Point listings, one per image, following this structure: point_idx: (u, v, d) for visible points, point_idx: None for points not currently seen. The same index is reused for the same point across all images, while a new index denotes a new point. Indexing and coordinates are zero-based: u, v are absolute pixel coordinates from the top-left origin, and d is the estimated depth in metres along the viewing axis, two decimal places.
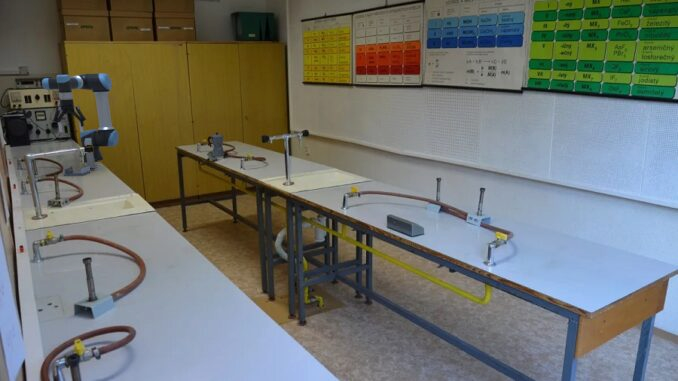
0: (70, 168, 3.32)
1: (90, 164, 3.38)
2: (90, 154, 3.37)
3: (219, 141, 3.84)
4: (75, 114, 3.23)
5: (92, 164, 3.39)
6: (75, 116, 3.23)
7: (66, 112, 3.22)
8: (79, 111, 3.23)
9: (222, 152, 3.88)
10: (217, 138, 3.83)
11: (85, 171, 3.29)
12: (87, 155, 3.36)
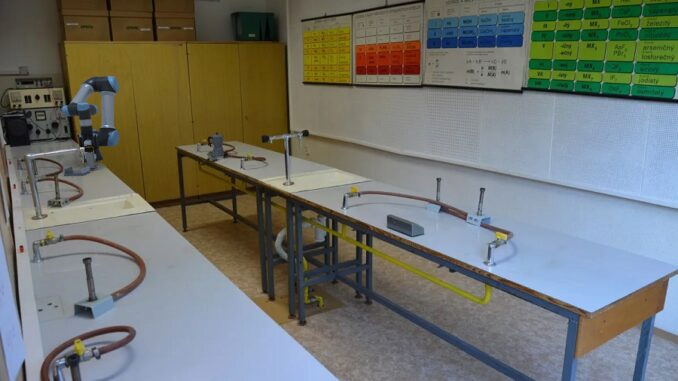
0: (70, 168, 3.32)
1: (90, 164, 3.38)
2: (90, 154, 3.37)
3: (219, 141, 3.84)
4: (92, 141, 3.45)
5: (92, 164, 3.39)
6: None
7: (86, 137, 3.44)
8: (96, 139, 3.45)
9: (222, 152, 3.88)
10: (217, 138, 3.83)
11: (85, 171, 3.29)
12: (87, 155, 3.36)
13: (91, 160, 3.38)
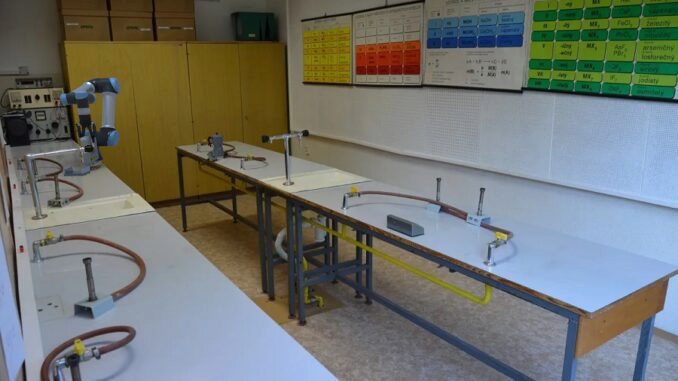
0: (70, 168, 3.32)
1: (86, 160, 3.37)
2: None
3: (219, 141, 3.84)
4: (90, 130, 3.43)
5: (88, 160, 3.37)
6: (89, 131, 3.43)
7: (84, 126, 3.43)
8: (94, 128, 3.43)
9: (222, 152, 3.88)
10: (217, 138, 3.83)
11: (85, 171, 3.29)
12: None
13: (87, 156, 3.36)
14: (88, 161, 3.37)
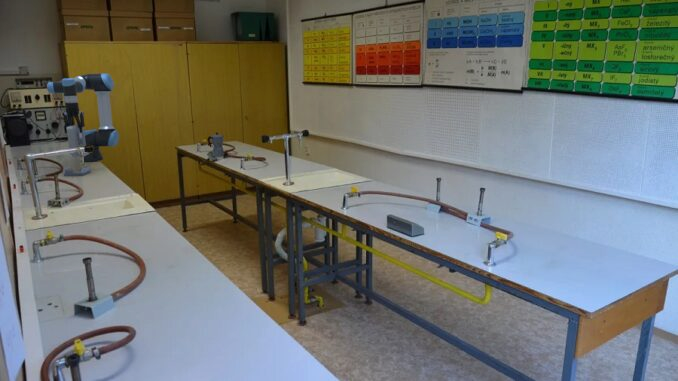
0: (70, 168, 3.32)
1: None
2: (72, 140, 3.18)
3: (219, 141, 3.84)
4: (77, 119, 3.27)
5: None
6: (76, 121, 3.27)
7: (71, 115, 3.26)
8: (82, 117, 3.27)
9: (222, 152, 3.88)
10: (217, 138, 3.83)
11: (85, 171, 3.29)
12: (69, 141, 3.18)
13: (74, 146, 3.19)
14: None
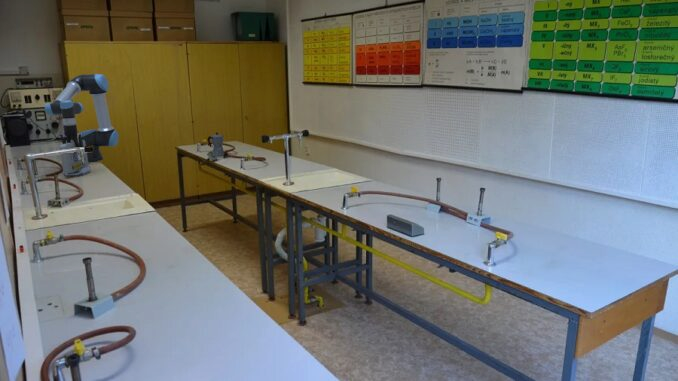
0: None
1: (65, 169, 3.16)
2: (65, 158, 3.14)
3: (219, 141, 3.84)
4: (76, 141, 3.24)
5: (67, 169, 3.16)
6: (75, 143, 3.24)
7: (69, 137, 3.23)
8: (80, 139, 3.24)
9: (222, 152, 3.88)
10: (217, 138, 3.83)
11: (85, 171, 3.29)
12: (62, 159, 3.14)
13: (67, 164, 3.15)
14: (67, 170, 3.16)
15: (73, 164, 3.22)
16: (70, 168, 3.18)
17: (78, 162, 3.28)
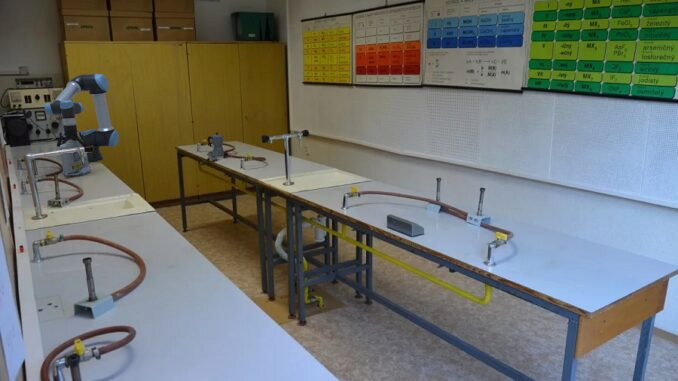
0: None
1: (65, 169, 3.16)
2: (65, 158, 3.14)
3: (219, 141, 3.84)
4: (78, 139, 3.24)
5: (67, 169, 3.16)
6: (78, 141, 3.24)
7: (69, 137, 3.23)
8: (82, 136, 3.24)
9: (222, 152, 3.88)
10: (217, 138, 3.83)
11: (85, 171, 3.29)
12: (62, 159, 3.14)
13: (67, 164, 3.15)
14: (67, 170, 3.16)
15: (73, 164, 3.22)
16: (70, 168, 3.18)
17: (78, 162, 3.28)
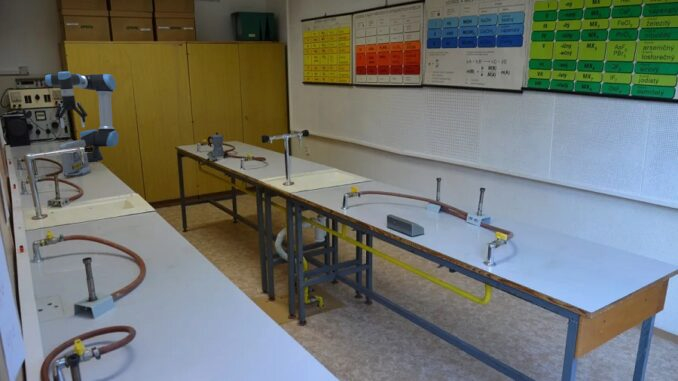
0: None
1: (65, 169, 3.16)
2: (65, 158, 3.14)
3: (219, 141, 3.84)
4: (77, 110, 3.29)
5: (67, 169, 3.16)
6: (77, 112, 3.29)
7: (68, 108, 3.28)
8: (81, 107, 3.29)
9: (222, 152, 3.88)
10: (217, 138, 3.83)
11: (85, 171, 3.29)
12: (62, 159, 3.14)
13: (67, 164, 3.15)
14: (67, 170, 3.16)
15: (73, 164, 3.22)
16: (70, 168, 3.18)
17: (78, 162, 3.28)
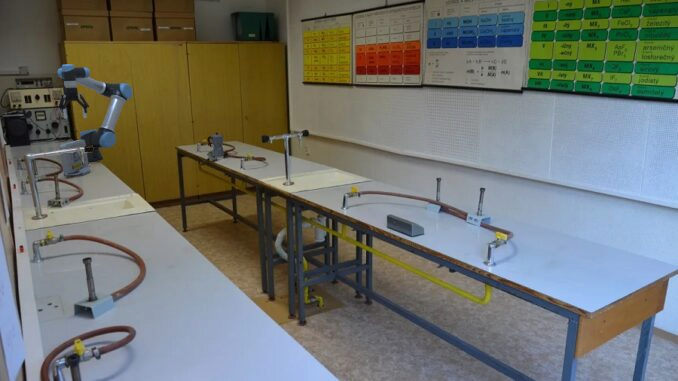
0: None
1: (65, 169, 3.16)
2: (65, 158, 3.14)
3: (219, 141, 3.84)
4: (79, 101, 3.44)
5: (67, 169, 3.16)
6: (79, 103, 3.44)
7: (70, 99, 3.44)
8: (83, 98, 3.44)
9: (222, 152, 3.88)
10: (217, 138, 3.83)
11: (85, 171, 3.29)
12: (62, 159, 3.14)
13: (67, 164, 3.15)
14: (67, 170, 3.16)
15: (73, 164, 3.22)
16: (70, 168, 3.18)
17: (78, 162, 3.28)
